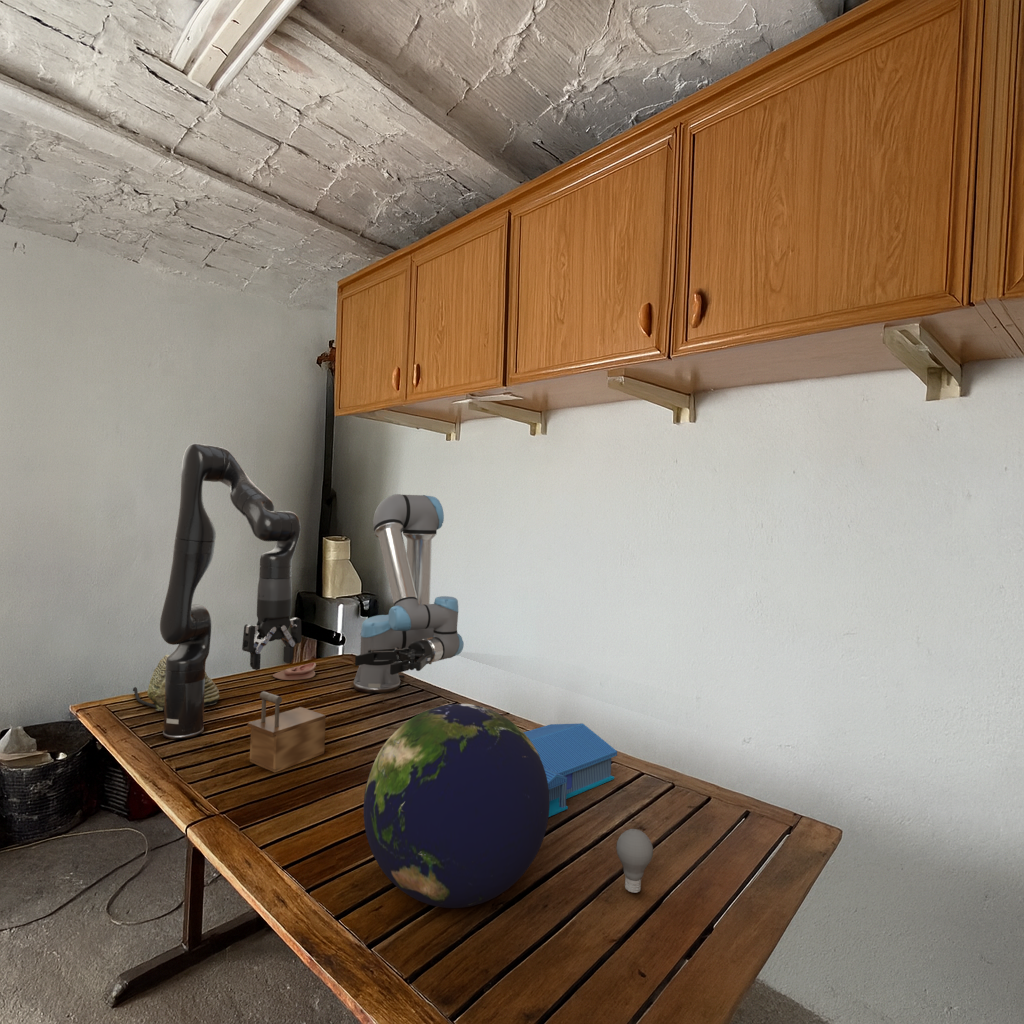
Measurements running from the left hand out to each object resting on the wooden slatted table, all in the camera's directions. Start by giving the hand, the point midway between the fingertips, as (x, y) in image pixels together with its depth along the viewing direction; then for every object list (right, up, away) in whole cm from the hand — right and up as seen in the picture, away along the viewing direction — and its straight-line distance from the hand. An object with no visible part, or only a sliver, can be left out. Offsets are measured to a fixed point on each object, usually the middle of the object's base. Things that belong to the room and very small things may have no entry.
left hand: (272, 665), depth 148 cm
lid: (+2, -15, +4) cm, 15 cm away
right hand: (+18, -7, +27) cm, 33 cm away
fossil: (-40, -21, +37) cm, 58 cm away
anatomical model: (-20, -21, +72) cm, 77 cm away
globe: (+46, -26, -44) cm, 69 cm away
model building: (+60, -26, -6) cm, 65 cm away
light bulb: (+76, -28, -42) cm, 91 cm away
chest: (+2, -23, +5) cm, 24 cm away
